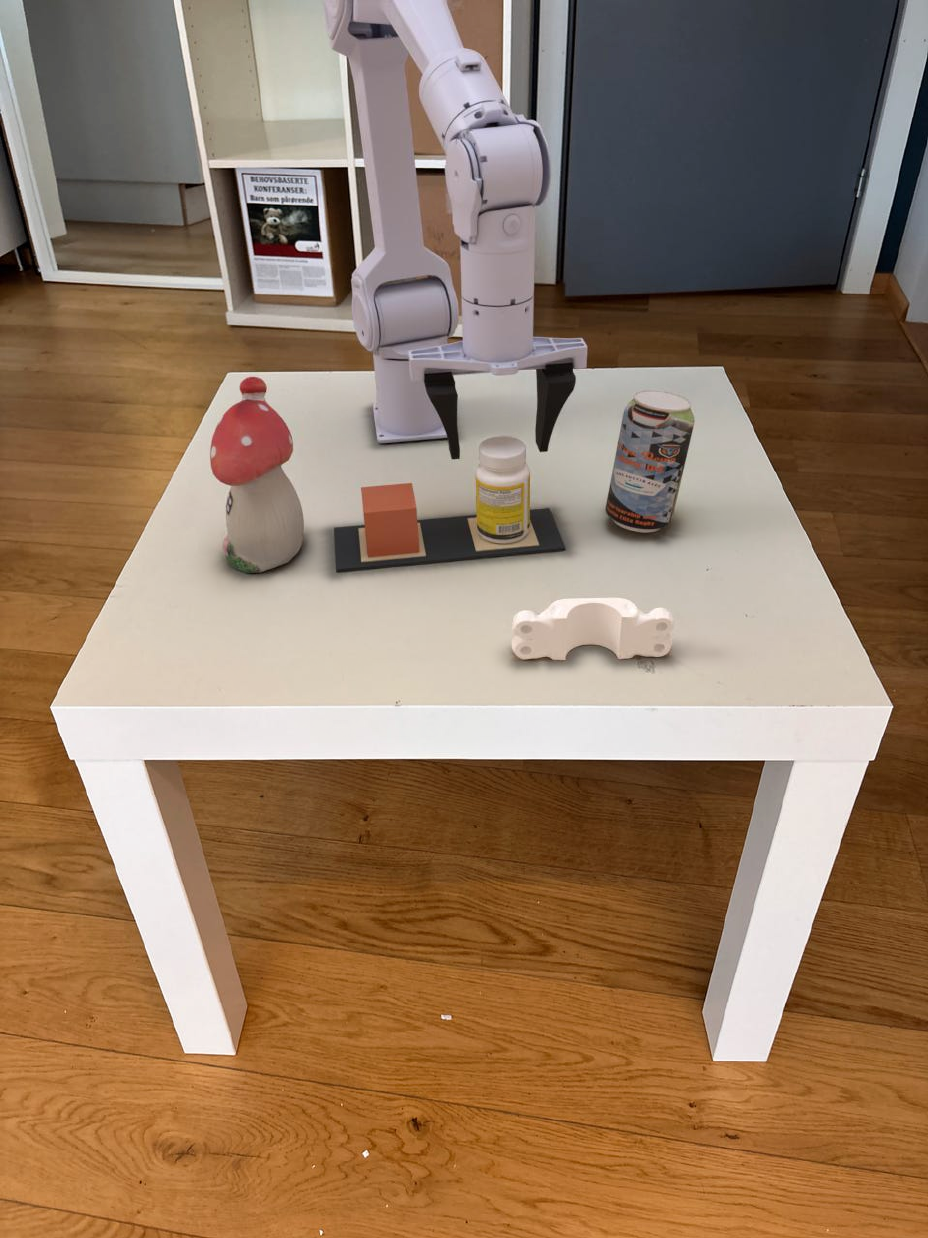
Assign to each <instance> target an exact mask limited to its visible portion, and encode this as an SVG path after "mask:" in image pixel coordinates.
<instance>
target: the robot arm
mask: <svg viewBox="0 0 928 1238" xmlns="http://www.w3.org/2000/svg"><path fill="white" fill-rule="evenodd" d="M448 1H449V0H322V6H323V12H324V20H325V27H326V33H327V36H328V38H329V44H330V45H329V46H330V49H331V50H333V51H334V52H337V53H338V54H340V55H342V56H344V57H347V60H348V63H349V67H350V71H351V72H350V73H351V77H352V81H353V88H354V96H355V103H356V110H357V118H358V126H359V133H360V142H361V149H362V157H363V164H364V165H363V167H364V173H365V179H366V188H367V189H366V190H367V196H368V204H369V210H370V211H369V212H370V220H371V227H372V233H373V234H372V235H373V236H372V237H373V242H374V248H373V249H372V251H371V252H370V253H369V254H368V255H367V256H366V257H365V258H364V259H363V260H362V262H361V263H360V264H358V266H356V268H355V269H354V270H353V272H352V273H351V279H350V282H351V292H352V294H351V295H352V297H351V315H352V316H351V317H352V321H353V327H354V331H355V334H356V337H357V339H358V342H359V343H360V345H361V346H362V347H364V348H365V350H366V351H368V352H372V357H373V358H372V359H373V370H374V380H375V392H376V393H375V394H376V402H375V403H373V404H372V411H373V418H374V427H375V433H376V441H377V443H379V444H388V443H389V444H390V443H400V442H401V443H402V442H413V441H425V440H438V439H447V442H448V443H447V444H448V451H449V454H450V459H451V460H461V446H460V439H459V430H458V403H459V402H458V401H459V395H458V391H457V388H456V380H455V378H454V376H464V375H466V376H467V375H479V374H489V373H490V374H491V375H493V376H498V377H500V376H513V375H516V374H518V372H520V371H532V370H535V374H536V375H535V376H536V378H535V379H536V417H535V427H534V434H535V437H534V438H535V444H536V447H537V449H538V451H539V453H547V452H549V446H550V442H551V437H552V434H553V431H554V428H555V425H556V423H557V420H558V418H559V416H560V413H561V411H562V409H563V407H564V406H565V404H566V402H567V400H568V399H569V397H570V396H571V394H572V393H573V392H574V390H575V386H576V382H577V376H576V374H575V373H574V370H586V369H587V366H588V365H587V364H588V363H587V362H588V361H587V360H588V345H587V343H586V342H585V340H584V338H583V337H574V338H573V337H571V338H568V337H567V338H565V337H547V336H546V337H545V336H534V309H535V307H534V306H535V263H536V262H535V259H536V257H535V255H536V208H535V207H539V206H542V205H543V204H544V202H545V201H547V200H546V199H547V198H548V196H549V195H548V194H549V192H550V188H551V180H552V157H551V153H550V147H549V144H548V141H547V138H546V135H545V134H544V130H543V128H542V126H541V125H540V123H539V122H537V121H536V120H534V119H526V117H525V116H524V114H522V113H521V114H516V113H514V112H513V110H512V109H511V106H510V104H509V103H508V101H507V99H506V97H505V95H504V92H503V91H502V90H501V87H500V84H499V83H498V81H497V79H496V78H495V76H494V74H493V72H492V70H491V68H490V66H489V64H488V63H487V60H486V58H485V57H483V55H482V54H481V53H479V52H478V51H476V50H474V49H470V48H465V47H464V45H463V42H462V39H461V37H460V35H459V32H458V30H457V26H456V24H455V22H454V21H455V20H454V19H453V15H452V13H451V11H450V8H449V5H448ZM409 55H410V56H411V58H412V60H413V62H414V63H415V65H416V66H417V68H418V70H419V71H420V73H421V74H422V75H421V78H420V81H419V86H418V97H419V101H420V103H421V106H422V108H423V110H424V112H425V114H426V116H427V118H428V121H429V122H430V124H431V127H432V129H433V130H434V133H435V135H436V137H437V139H438V142H439V143H440V145H441V148H442V150H443V151H444V154H445V165H444V177H445V183H446V189H447V193H448V197H449V201H450V205H451V213H452V226H453V230H454V234H455V235H456V236H457V237H459V249H460V250H459V253H460V257H459V258H460V284H461V285H460V288H461V290H460V291H461V292H460V293H461V327H462V329H461V330H462V331H461V333H462V340H459V341H454V342H450V343H448V342H449V341H448V339H449V338H452V337H453V336H454V334H455V333H456V330H457V328H458V326H459V321H460V309H459V301H458V297H457V293H456V289H455V288H454V284H453V278H452V272H451V268H450V265H449V264H448V262H447V261H446V260H445V259H444V258H442V257H441V256H440V255H438V254H437V253H435V252H433V251H432V250H430V249H429V248H427V247H426V246H425V243H424V235H423V225H422V215H421V206H420V197H419V187H418V179H417V170H416V159H415V151H414V142H413V141H414V140H413V132H412V131H413V130H412V123H411V112H410V104H409V102H410V101H409V94H408V85H407V76H406V62H407V60H408V57H409ZM424 276H425V277H424ZM420 277H421V278H420ZM415 278H416V279H415ZM407 279H409V280H407ZM400 280H402V281H400ZM393 281H396V282H393ZM388 282H389V283H388Z"/></svg>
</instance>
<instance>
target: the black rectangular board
mask: <svg viewBox="0 0 928 1238" xmlns="http://www.w3.org/2000/svg"><path fill="white" fill-rule="evenodd" d="M417 523H418V538H419V553H410V554H399V555H388V556H378V557H368V554H367V544H366V534H365V524H359V525H349V526H337V527H333V532H334V535H333V536H334V552H335V554H334V555H335V570H336V573H341V572H352V571H363V570H372V569H373V570H374V569H382V568H395V567H404V566H405V567H406V566H416V565H426V564H436V563H446V562H447V563H448V562H456V561H467V560H477V559H489V558H490V559H491V558H498V557H509V556H510V557H511V556H519V555H529V554H530V555H531V554H540V553H541V554H542V553H553V552H561V551H566V545H565V543H564V541H563V538H562V535H561V533H560V530H559V528H558V525H557V523H556V521H555V518H554V516H553V513H552V510H551V509H550V507H546V508H545V507H543V508H535V509H534V508H533V509H530V529H529V532H528V534H527V535H526V536H525V537H524V538H523V539H521V540H519V541H516V542H513V543H506V544H501V543H494V542H490V541H487V540H485V539H483V538H482V537H481V536H480V535H479V533H478V531H477V514H469V515H468V514H467V515H459V516H446V517H436V518H425V519H417Z"/></svg>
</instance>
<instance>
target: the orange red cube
mask: <svg viewBox="0 0 928 1238" xmlns="http://www.w3.org/2000/svg"><path fill="white" fill-rule="evenodd" d="M360 493H361V503H362V515H363V521H364V524H363V525H365V534H366V544H367V554H368V557H378V556H388V555H399V554H410V553H419V538H418V523H417V520H418V509H417V503H416V497H415V492H414V487H413V483H412V482H406V483H405V482H404V483H395V484H393V483H392V484H383V485H381V484H380V485H371V486H361V487H360Z"/></svg>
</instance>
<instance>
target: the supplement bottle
mask: <svg viewBox="0 0 928 1238" xmlns="http://www.w3.org/2000/svg"><path fill="white" fill-rule="evenodd" d="M478 462H479V463H478V464H477V466H476V468H475V472H474V473H475V502H476V504H475V507H476V515H477V531H478V533H479V535H480V536H481V537H482V538H483V539H485V540H487V541H490V542H494V543H501V544H506V543H513V542H516V541H519V540H521V539H523V538H524V537H525V536H526V535H527V534H528V532H529V529H530V510H531V469H530V467H529V464H528V463H527V446H526V443H525V442H524V441H523V440H521V439H519V438H516V437H513V436H509V435H507V436H505V435H500V436H492V437H489V438H486V439H485V440H483V441H482V442H481V443H480V444H479V446H478Z"/></svg>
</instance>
